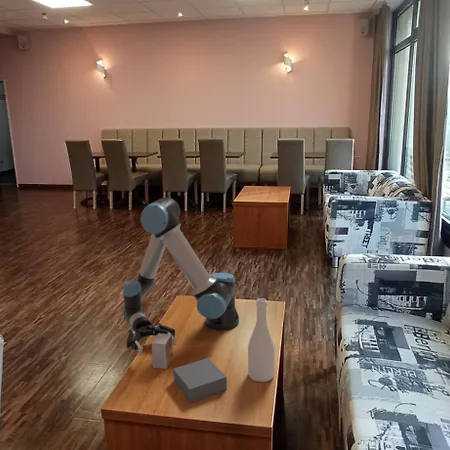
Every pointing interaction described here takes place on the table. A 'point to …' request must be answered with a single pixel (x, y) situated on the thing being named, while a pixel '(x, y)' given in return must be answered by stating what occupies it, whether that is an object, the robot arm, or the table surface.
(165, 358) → the small box
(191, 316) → the table surface
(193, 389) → the plinth
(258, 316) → the wine bottle
